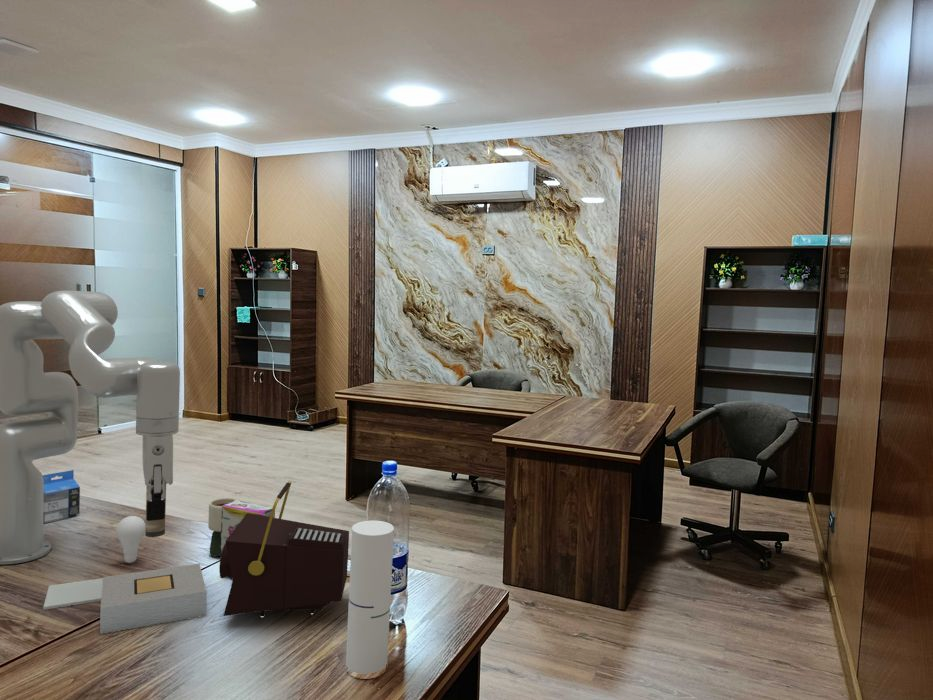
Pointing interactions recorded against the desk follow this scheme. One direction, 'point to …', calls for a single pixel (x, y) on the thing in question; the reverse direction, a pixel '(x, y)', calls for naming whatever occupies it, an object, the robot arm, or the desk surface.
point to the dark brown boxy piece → (283, 564)
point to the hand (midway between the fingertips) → (155, 515)
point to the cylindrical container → (369, 596)
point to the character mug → (216, 523)
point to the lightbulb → (130, 536)
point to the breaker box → (151, 599)
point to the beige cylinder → (155, 526)
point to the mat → (73, 593)
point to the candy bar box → (239, 516)
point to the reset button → (153, 584)
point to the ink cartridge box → (60, 497)
